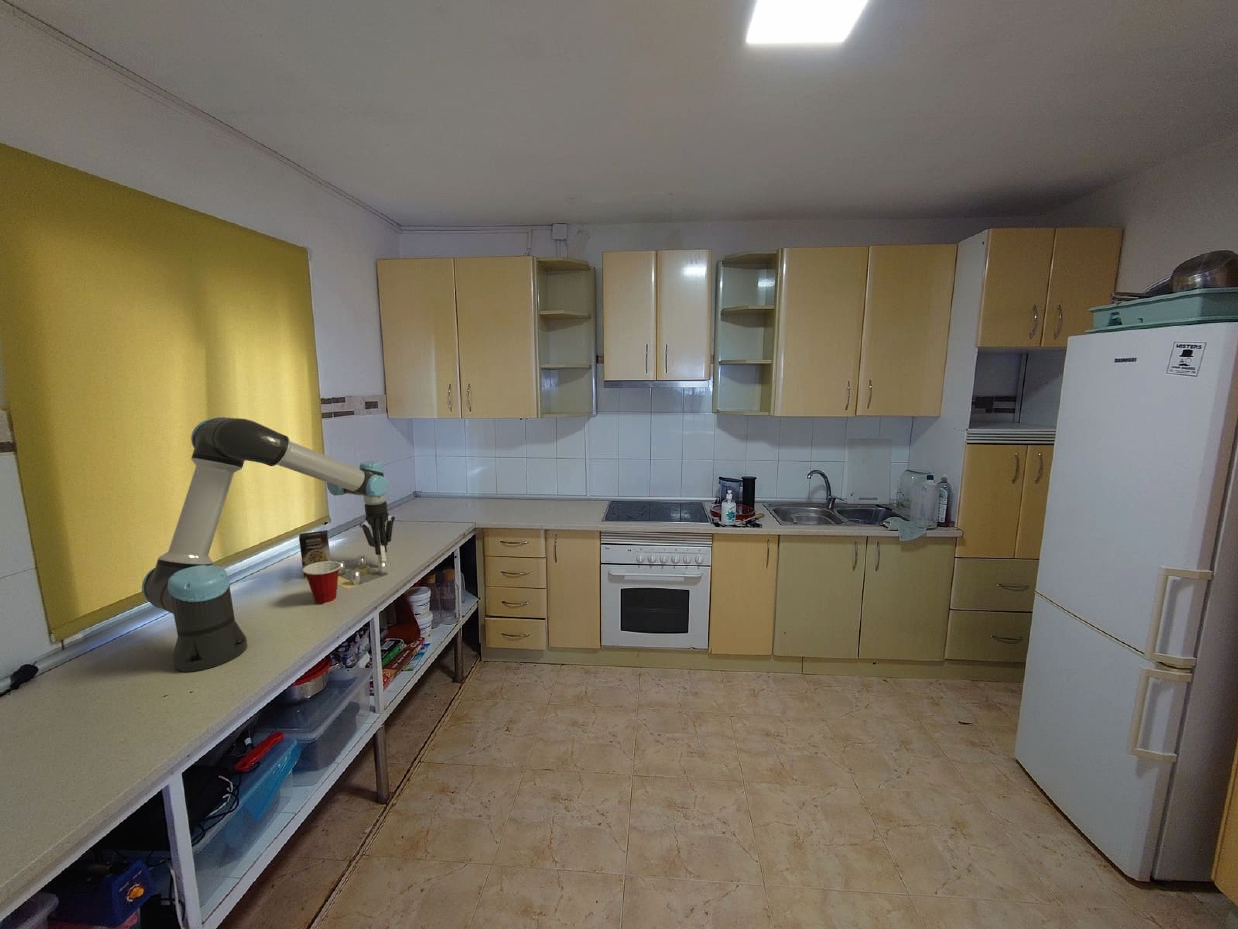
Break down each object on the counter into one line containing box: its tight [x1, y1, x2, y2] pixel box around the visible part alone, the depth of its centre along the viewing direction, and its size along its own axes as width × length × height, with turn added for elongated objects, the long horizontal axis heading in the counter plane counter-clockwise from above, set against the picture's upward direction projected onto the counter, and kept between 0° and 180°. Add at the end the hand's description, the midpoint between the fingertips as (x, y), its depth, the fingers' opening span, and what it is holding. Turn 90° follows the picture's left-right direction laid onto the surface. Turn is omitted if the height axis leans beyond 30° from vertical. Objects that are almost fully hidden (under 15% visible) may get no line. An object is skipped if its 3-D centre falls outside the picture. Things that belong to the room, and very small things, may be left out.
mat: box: [337, 566, 389, 590], centre depth 180 cm, size 15×17×1 cm
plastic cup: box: [302, 560, 341, 605], centre depth 160 cm, size 11×11×12 cm
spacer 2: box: [351, 570, 362, 586], centre depth 173 cm, size 3×3×5 cm
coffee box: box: [298, 529, 332, 580], centre depth 182 cm, size 9×6×16 cm
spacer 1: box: [337, 560, 346, 576], centre depth 182 cm, size 3×3×5 cm
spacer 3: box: [356, 554, 367, 567], centre depth 188 cm, size 3×3×5 cm
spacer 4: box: [377, 560, 388, 577], centre depth 181 cm, size 3×3×5 cm
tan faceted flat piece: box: [355, 564, 370, 576], centre depth 182 cm, size 5×4×2 cm
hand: (382, 561), depth 188 cm, fingers closed
